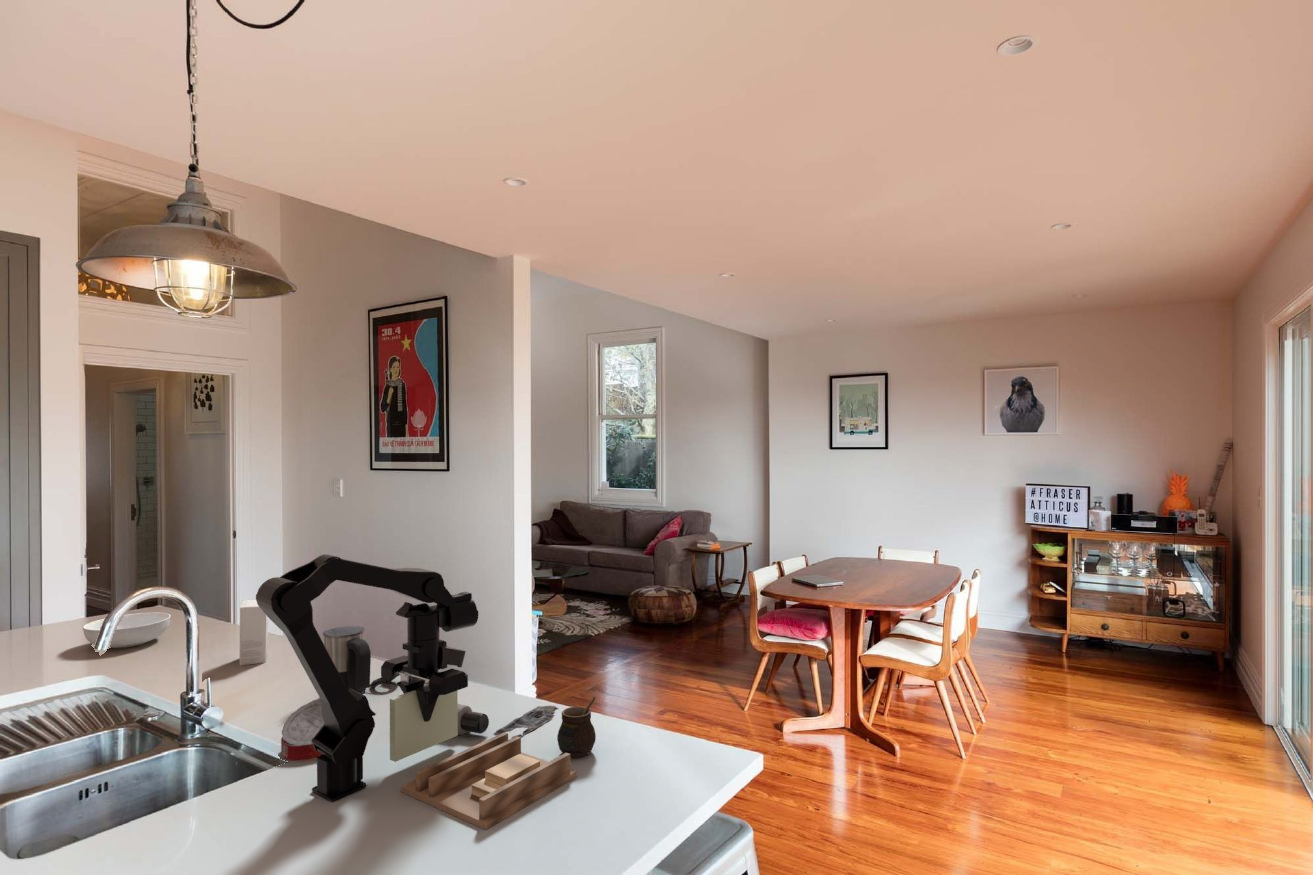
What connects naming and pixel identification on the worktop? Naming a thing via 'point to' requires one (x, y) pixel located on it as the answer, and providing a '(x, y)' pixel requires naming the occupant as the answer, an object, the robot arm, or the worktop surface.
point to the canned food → (302, 732)
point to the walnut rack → (456, 774)
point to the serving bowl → (131, 629)
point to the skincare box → (253, 633)
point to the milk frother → (352, 657)
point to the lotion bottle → (471, 720)
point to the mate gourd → (576, 731)
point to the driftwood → (530, 720)
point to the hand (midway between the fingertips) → (423, 719)
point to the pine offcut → (484, 788)
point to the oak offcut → (511, 769)
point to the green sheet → (420, 724)
